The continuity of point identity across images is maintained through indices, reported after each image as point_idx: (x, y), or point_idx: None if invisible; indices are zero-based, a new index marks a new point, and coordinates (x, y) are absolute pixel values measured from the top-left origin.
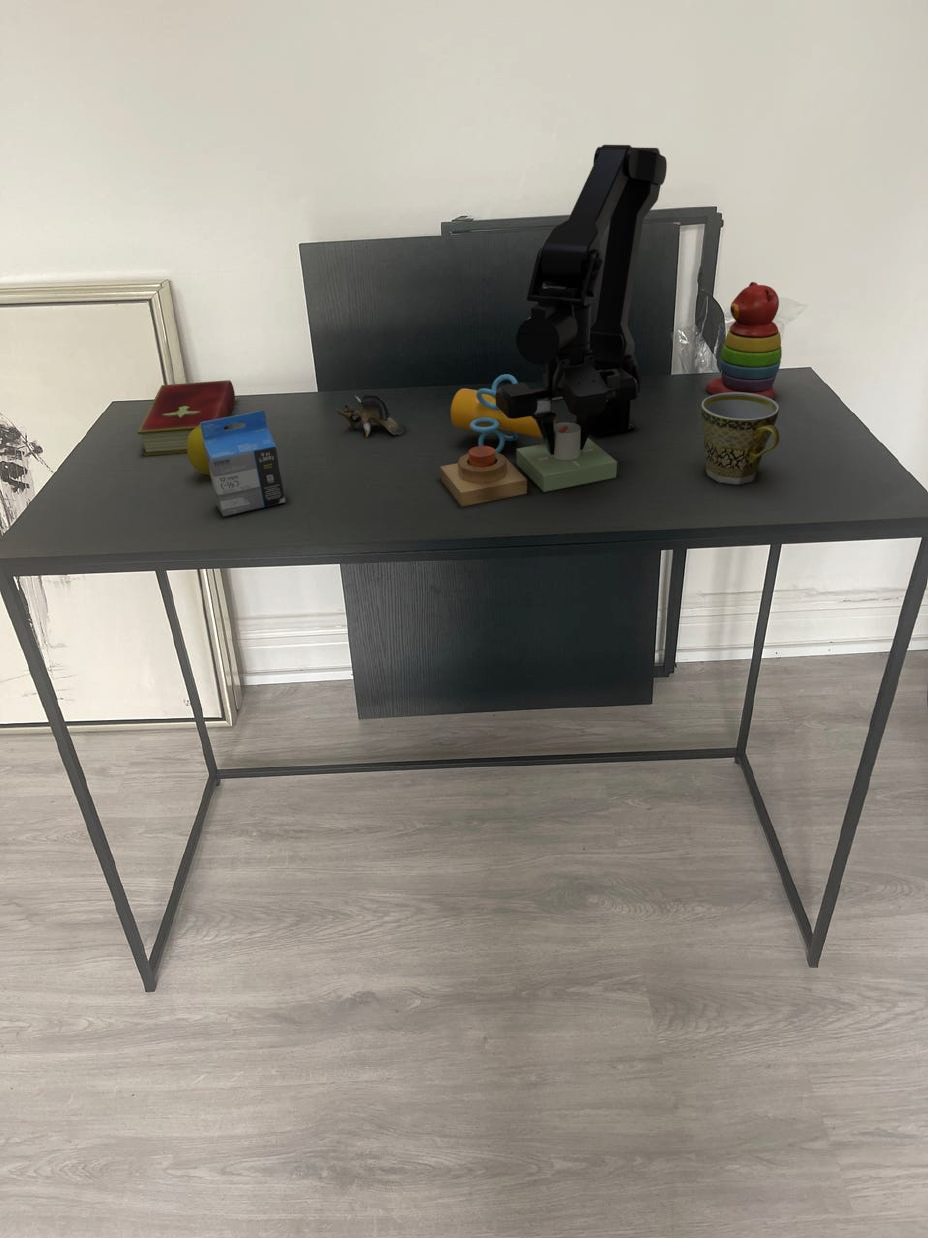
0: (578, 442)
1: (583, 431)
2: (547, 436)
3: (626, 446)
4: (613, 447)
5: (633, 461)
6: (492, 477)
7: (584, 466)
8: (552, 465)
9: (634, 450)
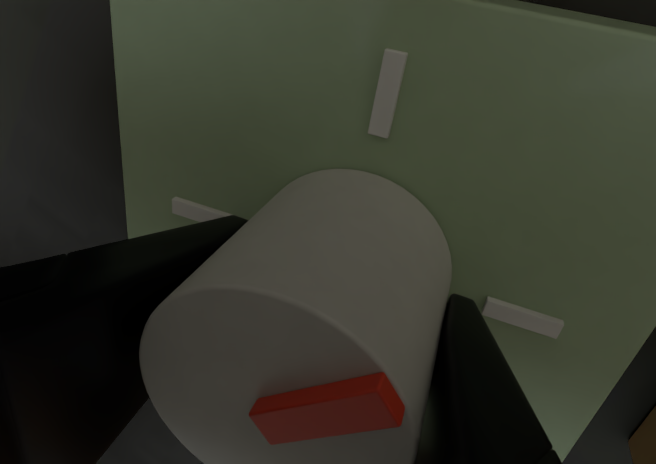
0: (257, 223)
1: (150, 278)
2: (548, 439)
3: (24, 214)
4: (71, 243)
5: (36, 71)
6: None
7: (359, 9)
8: (558, 195)
9: (4, 163)
